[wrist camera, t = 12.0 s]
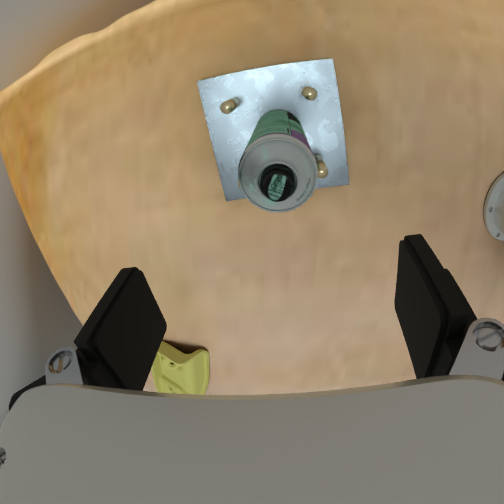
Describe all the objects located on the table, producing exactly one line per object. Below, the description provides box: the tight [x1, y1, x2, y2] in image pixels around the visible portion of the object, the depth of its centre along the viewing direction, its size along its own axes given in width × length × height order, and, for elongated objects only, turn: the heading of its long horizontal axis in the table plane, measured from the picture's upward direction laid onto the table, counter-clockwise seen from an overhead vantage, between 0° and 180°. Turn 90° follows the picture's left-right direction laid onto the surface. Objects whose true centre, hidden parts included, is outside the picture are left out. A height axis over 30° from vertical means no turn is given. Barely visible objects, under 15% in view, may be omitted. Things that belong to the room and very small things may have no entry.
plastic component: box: [151, 341, 209, 395], centre depth 63 cm, size 20×7×10 cm
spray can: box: [238, 109, 318, 213], centre depth 27 cm, size 6×6×20 cm
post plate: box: [197, 59, 349, 201], centre depth 34 cm, size 16×16×6 cm
